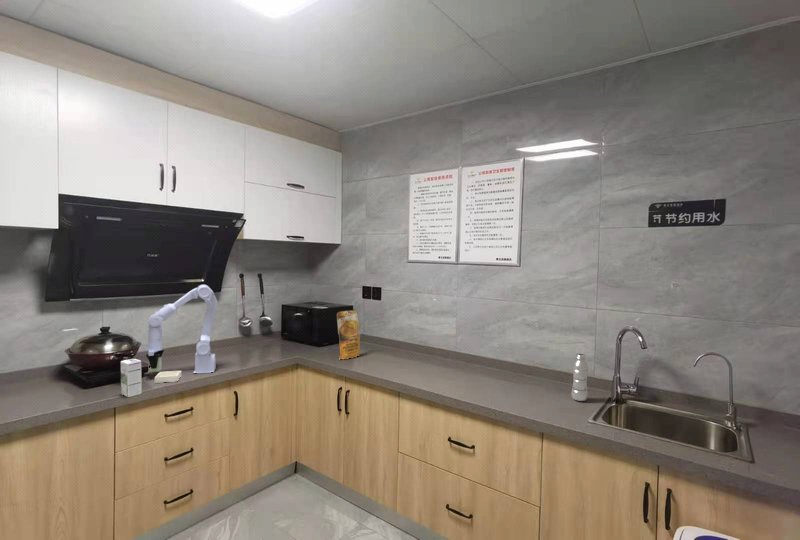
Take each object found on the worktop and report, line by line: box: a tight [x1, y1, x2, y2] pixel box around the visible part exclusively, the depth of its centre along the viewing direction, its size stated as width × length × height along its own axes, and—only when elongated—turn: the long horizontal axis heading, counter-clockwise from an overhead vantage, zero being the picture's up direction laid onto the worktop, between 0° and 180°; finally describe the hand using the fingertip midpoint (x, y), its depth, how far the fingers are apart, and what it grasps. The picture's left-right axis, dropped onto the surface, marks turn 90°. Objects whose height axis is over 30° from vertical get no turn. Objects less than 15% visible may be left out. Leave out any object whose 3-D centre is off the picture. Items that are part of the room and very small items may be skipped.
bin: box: [154, 370, 182, 384], centre depth 191 cm, size 9×9×3 cm
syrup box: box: [120, 358, 143, 398], centre depth 171 cm, size 6×6×14 cm
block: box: [148, 357, 163, 373], centre depth 196 cm, size 4×4×6 cm
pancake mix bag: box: [336, 309, 361, 361], centre depth 240 cm, size 7×19×28 cm, turn 139°
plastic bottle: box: [570, 353, 589, 402], centre depth 175 cm, size 6×7×20 cm
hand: (155, 367), depth 196 cm, fingers closed on block, 4 cm apart
